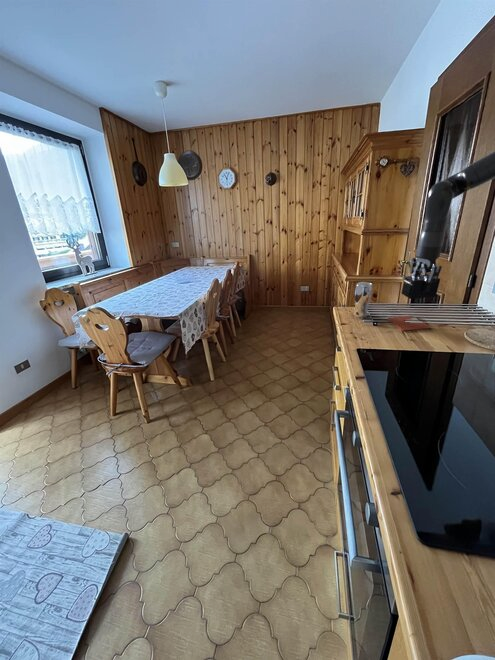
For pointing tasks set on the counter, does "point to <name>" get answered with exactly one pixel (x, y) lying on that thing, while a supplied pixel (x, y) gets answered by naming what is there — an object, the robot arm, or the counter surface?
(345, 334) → the counter surface
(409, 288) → the glossy black box
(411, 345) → the counter surface
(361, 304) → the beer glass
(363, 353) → the counter surface
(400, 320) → the mat
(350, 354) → the counter surface
